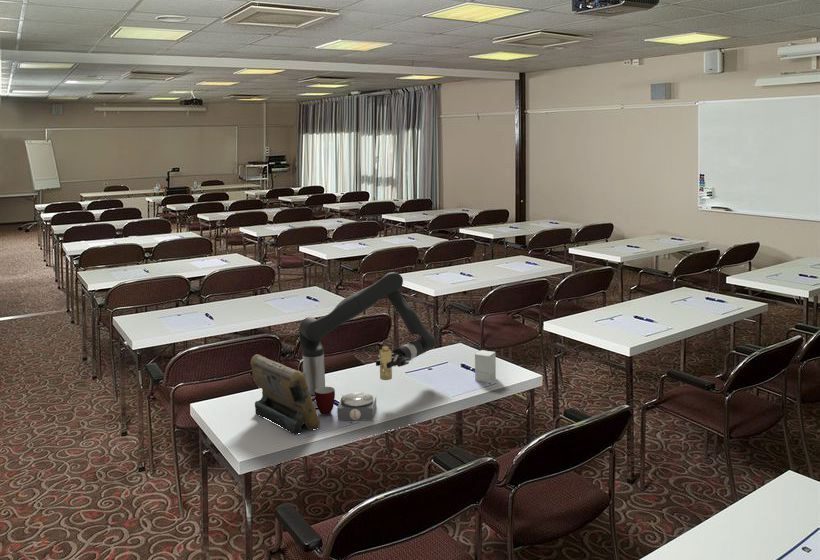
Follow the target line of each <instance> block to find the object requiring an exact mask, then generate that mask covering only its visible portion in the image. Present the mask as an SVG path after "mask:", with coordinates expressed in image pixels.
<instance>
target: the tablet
mask: <svg viewBox="0 0 820 560" xmlns="http://www.w3.org/2000/svg"><path fill="white" fill-rule="evenodd" d="M250 367H251V373H252V376H253V380H254V382H255V384H256V385H257V386H259V387H260V388H261V395H262V396H261V398H260V399H259V400H256V401H255V402H254V408H255V411H254V412H255V415H256V414H257V415H256V416H258V415H260V416H262V417H265V418H267V419H269V420H271V421H272V422H274V423H276V424H278V425H280V426H281V427H283V428H284V429H287V430H288V431H290V432H291V434H292V433H294V434H293V435H297V434H298V433H301V432H302V433H303V430H302V427H303V425H304V424H305V425H306V428H307V429H308V430H310V431H314V430H313V429H316V430H318V429H319V428H320V418H319V414H318V412H317V410H316V409H315V408H316V407H315V405H314V401H313V402H312V398H313V397H312V395H310V394H309V391H308V385H307V383H306V380H305V377H304V375H303V374H302V373H303V372H302V371H300V370H297V369H294V368H291V367H290V366H287V365H284V364H282V363H279V362H278V361H275V360H272V359H269V358H267V357H265V356H262V355H260V354H255V355H253V356H252V357H251V359H250ZM260 416H259V417H260ZM262 417H261V418H262ZM281 427H280V428H281ZM317 428H318V429H317ZM284 429H283V430H284ZM288 431H287V432H288ZM290 432H289V433H290ZM302 433H301V434H302Z"/></svg>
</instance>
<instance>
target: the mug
mask: <svg viewBox="0 0 820 560" xmlns="http://www.w3.org/2000/svg"><path fill="white" fill-rule="evenodd" d="M335 391H336V390H335V388H334V387H332V386H325V387H319V388H317V389H315V395H314V397H311V398H312V402H313V403H314V402H315V403H316V407H315V409H316V411H317V410H318V411H319V413H320V415H322V416H327V415H330V414H331V413H332V411H333V409H334V405H335V398H336V394H335V393H336V392H335Z"/></svg>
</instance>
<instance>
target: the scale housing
mask: <svg viewBox="0 0 820 560" xmlns="http://www.w3.org/2000/svg"><path fill="white" fill-rule="evenodd" d="M344 395H345V394H343V395H341V398H342V397H343V396H344ZM371 395H372V396H373V402H372V403H371V404H369V405H366V406H361V407H350V406H345V405H343V404H342V403H341V399H340V401H339V403H338V405H337V409H336V410H337V420H338V421H374V418H375V414H376V410H377V394H371Z"/></svg>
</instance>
